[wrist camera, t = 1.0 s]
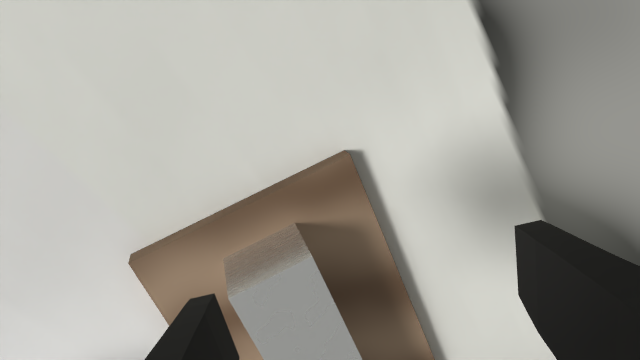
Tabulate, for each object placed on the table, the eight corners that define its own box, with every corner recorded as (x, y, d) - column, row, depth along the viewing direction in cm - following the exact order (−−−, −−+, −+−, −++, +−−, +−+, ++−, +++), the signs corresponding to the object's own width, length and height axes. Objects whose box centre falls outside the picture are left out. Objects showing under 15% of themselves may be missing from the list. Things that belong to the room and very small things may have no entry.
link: (223, 258, 25) (228, 298, 21) (294, 222, 25) (312, 256, 21) (308, 408, 28) (325, 465, 25) (369, 376, 29) (395, 426, 25)
